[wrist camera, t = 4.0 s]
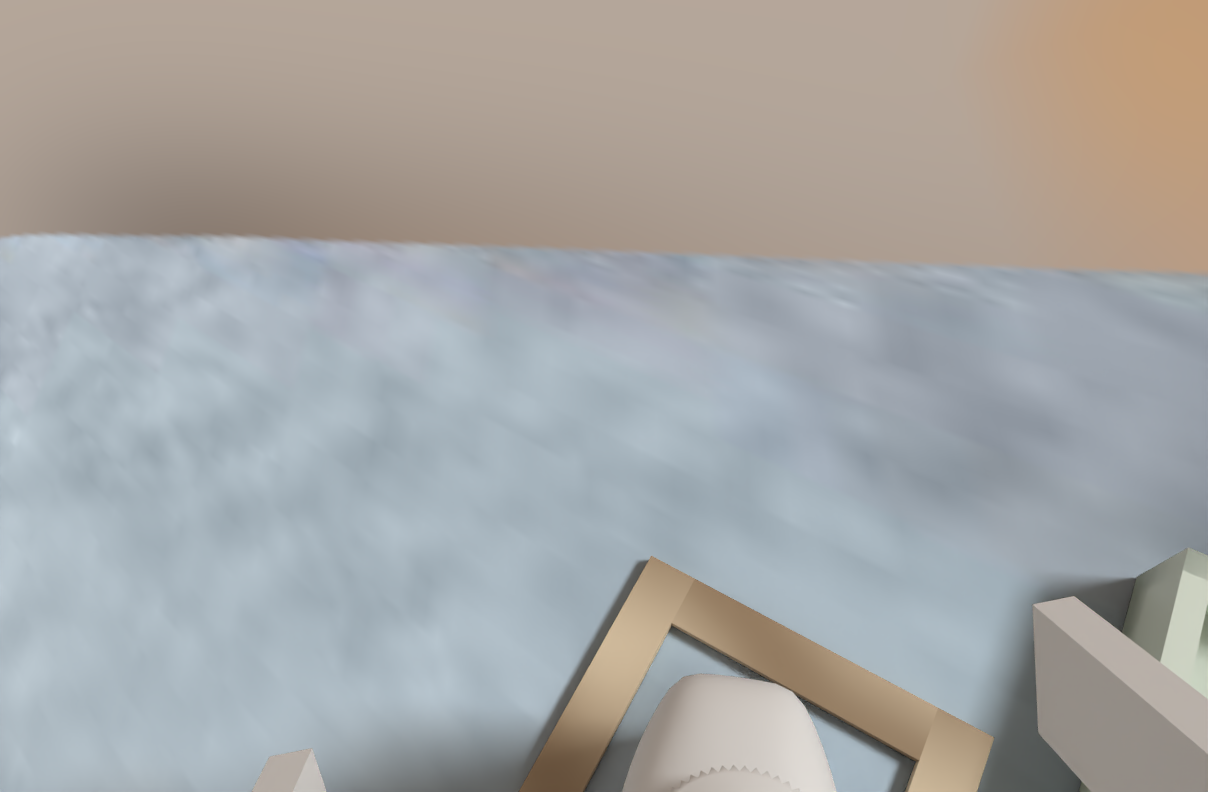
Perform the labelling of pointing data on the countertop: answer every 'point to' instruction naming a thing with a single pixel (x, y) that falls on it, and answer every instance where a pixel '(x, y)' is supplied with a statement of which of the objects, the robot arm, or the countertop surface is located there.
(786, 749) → the eye dropper bottle
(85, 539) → the countertop surface
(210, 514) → the countertop surface
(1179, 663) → the tray
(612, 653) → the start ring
